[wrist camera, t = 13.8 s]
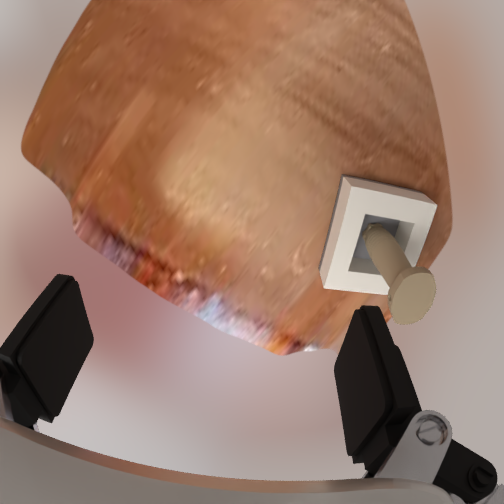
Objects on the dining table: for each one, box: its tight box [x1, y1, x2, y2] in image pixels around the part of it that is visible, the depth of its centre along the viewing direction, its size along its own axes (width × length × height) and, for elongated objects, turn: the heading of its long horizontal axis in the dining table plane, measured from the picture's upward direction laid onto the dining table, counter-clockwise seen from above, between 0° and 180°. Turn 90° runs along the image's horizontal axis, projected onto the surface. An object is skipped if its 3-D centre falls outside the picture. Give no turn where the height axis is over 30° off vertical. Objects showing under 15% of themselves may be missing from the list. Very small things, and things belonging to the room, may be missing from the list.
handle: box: [362, 223, 436, 325], centre depth 35 cm, size 5×6×15 cm
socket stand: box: [319, 174, 437, 295], centre depth 40 cm, size 14×12×5 cm
